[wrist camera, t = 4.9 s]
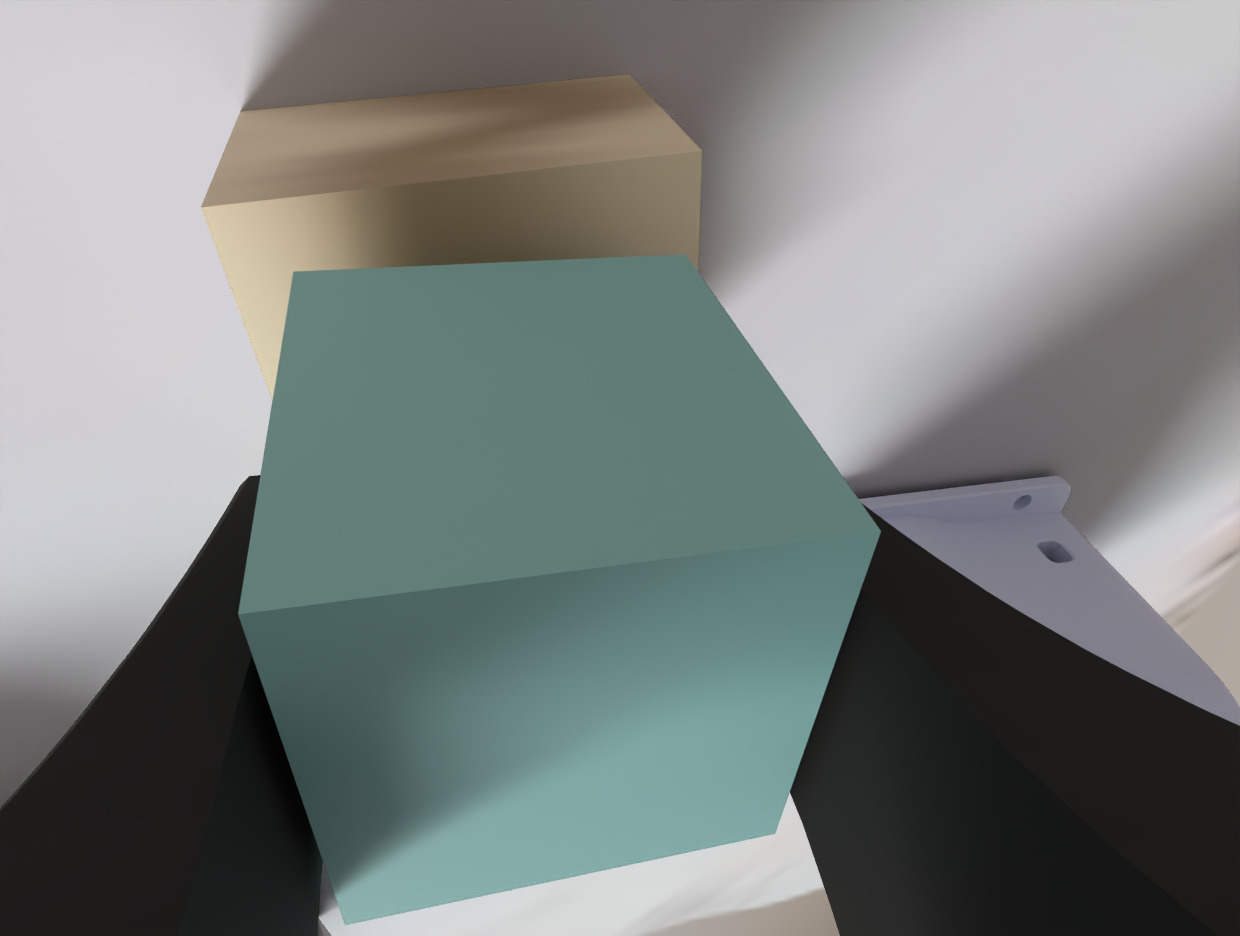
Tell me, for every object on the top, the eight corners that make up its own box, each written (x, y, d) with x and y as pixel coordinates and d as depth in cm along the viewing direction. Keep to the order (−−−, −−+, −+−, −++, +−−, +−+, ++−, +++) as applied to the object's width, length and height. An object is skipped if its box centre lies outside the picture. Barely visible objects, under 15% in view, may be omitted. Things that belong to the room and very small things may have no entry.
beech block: (627, 70, 13) (701, 150, 10) (633, 379, 17) (689, 503, 14) (242, 107, 12) (201, 207, 9) (340, 425, 16) (334, 568, 13)
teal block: (685, 253, 10) (880, 531, 6) (654, 527, 13) (774, 833, 9) (293, 271, 9) (237, 613, 5) (353, 563, 12) (344, 925, 8)
